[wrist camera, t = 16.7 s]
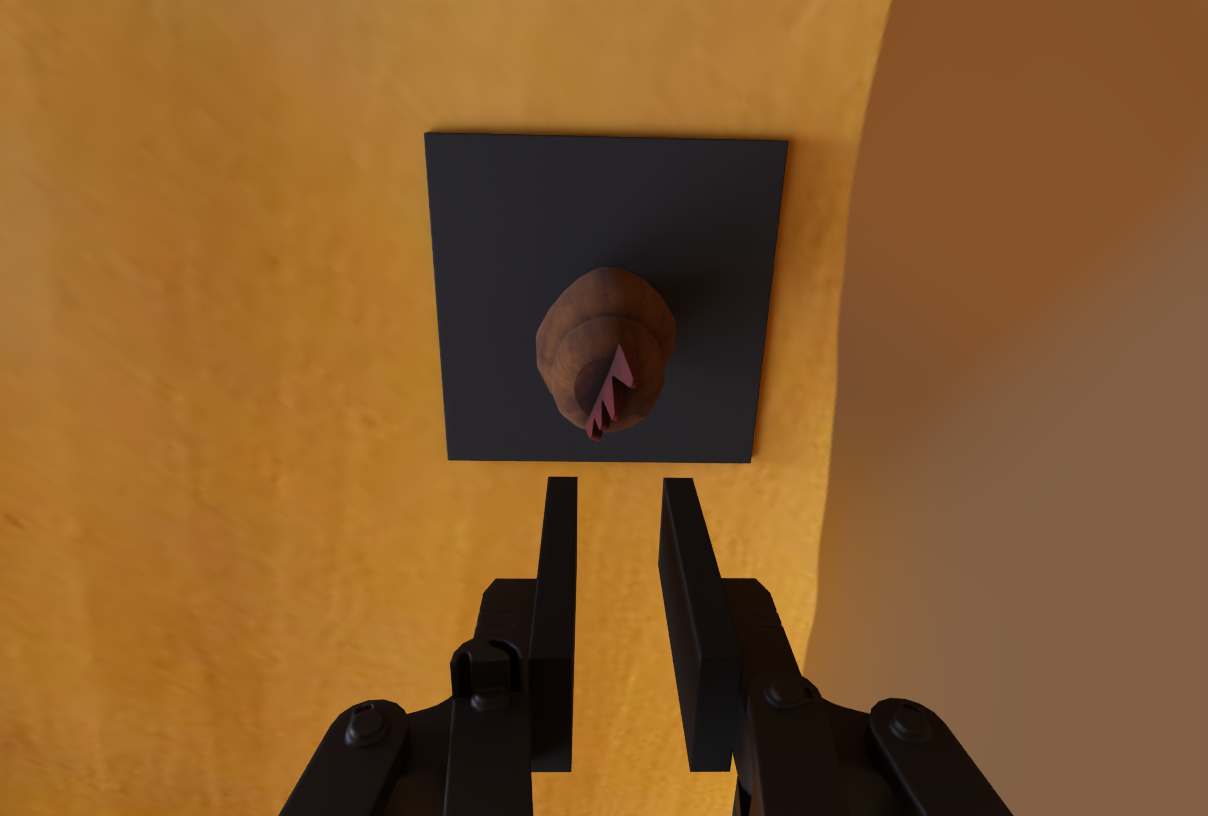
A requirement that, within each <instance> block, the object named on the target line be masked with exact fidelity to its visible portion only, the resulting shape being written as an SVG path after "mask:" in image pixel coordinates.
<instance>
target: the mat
mask: <svg viewBox="0 0 1208 816" xmlns="http://www.w3.org/2000/svg"><path fill="white" fill-rule="evenodd" d="M424 141H425V155H426V168H427V182H428V196H429V209H430V223H431V236H432V250H433V264H434V277H435V291H436V304H437V318H438V332H439V345H440V359H441V372H442V386H443V400H444V413H445V427H446V440H447V454H448V460H469V461H568V462H667V463H751V456H752V447H753V439H754V430H755V422H756V413H757V405H758V396H759V388H760V379H761V370H762V362H763V353H764V345H765V336H766V328H767V319H768V311H769V302H770V293H771V285H772V276H773V268H774V259H775V251H776V242H777V234H778V225H779V216H780V208H781V199H782V191H783V182H784V174H785V165H786V157H787V148H788V141H780V140H737V139H693V138H650V137H606V136H562V135H519V134H475V133H432V132H426V133H424ZM599 267H621V268H623V269H625V270H627V271H629V272H631V273H633V274H635V275H637V276H639V277H641V278H643V279H645V280H646V281H647V282H648V283H649V284H650V285H651V286H652V287H653V288H654V289H655V290H656V291H657V292H658V293H659V294H660V295H661V297H662V298H663V299H664V301H665V303H666V305H667V306H668V308H669V310H670V312H671V313H672V315H673V317H674V319H675V324H676V334H675V349H674V352H673V354H672V355H671V357H670V358H669V360H668V362H667V363H666V365H665V380H664V386H663V388H662V390H661V393H660V395H659V398H658V400H657V402H656V403H655V405H654V406H653V408H652V409H651V410H650V412H649V413H648V414H647V416H646V417H645V418H644V419H642V420H641V421H639V422H638V423H636V424H634V425H633V426H631V427H629V428H626V429H623V430H620V431H617V432H608V433H602V437H601V439H600V441H599V442H598V441H595V440H593V439H590V438H589V436H588V434H587V431H586V429H582V428H579V427H577V426H576V425H575V424H573V423H572V422H571V421H569V420H568V419H567V418H566V417H564V416H563V415H562V414H561V413H560V411H559V409H558V407H557V404H556V402H555V399H554V397H553V394H552V393H550V391H549V389H548V387H547V385H546V383H545V381H544V379H543V377H542V375H541V373H540V371H539V369H538V367H537V352H536V335H537V331H538V329H539V327H540V325H541V323H542V322H543V320H544V318H545V316H546V314H547V312H548V311H549V309H550V308H551V306H552V305H553V304H554V303H555V302H556V300H557V299H558V298H559V297H560V296H561V294H562V293H563V292H564V291H565V290H566V289H567V288H568V287H569V286H571V285H572V284H573V283H574V282H575V281H576V280H577V279H578V278H580V277H581V276H583V275H585V274H587V273H589V272H591V271H593V270H595V269H597V268H599Z"/></svg>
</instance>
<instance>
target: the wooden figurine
mask: <svg viewBox="0 0 1208 816" xmlns="http://www.w3.org/2000/svg"><path fill="white" fill-rule="evenodd" d="M675 334H676V324H675V319H674V317H673V315H672V313H671V312H670V310H669V308H668V306H667V305H666V303H665V301H664V299H663V298H662V297H661V295H660V294H659V293H658V292H657V291H656V290H655V289H654V288H653V287H652V286H651V285H650V284H649V283H648V282H647V281H646V280H645V279H643V278H641V277H639V276H637V275H635V274H633V273H631V272H629V271H627V270H625V269H623V268H621V267H599V268H597V269H595V270H593V271H591V272H589V273H587V274H585V275H583V276H581V277H580V278H578V279H577V280H576V281H575V282H574V283H573V284H572V285H571V286H569V287H568V288H567V289H566V290H565V291H564V292H563V293H562V294H561V296H560V297H559V298H558V299H557V300H556V302H555V303H554V304H553V305H552V306H551V308H550V309H549V311H548V312H547V314H546V316H545V318H544V320H543V322H542V323H541V325H540V327H539V329H538V331H537V335H536V352H537V367H538V369H539V371H540V373H541V375H542V377H543V379H544V381H545V383H546V385H547V387H548V389H549V391H550V393H552V394H553V397H554V399H555V402H556V404H557V407H558V409H559V411H560V413H561V414H562V415H563V416H564V417H566V418H567V419H568V420H569V421H571V422H572V423H573V424H575V425H576V426H577V427H579V428H582V429H586V431H587V434H588V436H589V438H590V439H593V440H595V441H598V442H599V441H600V439H601V437H602V433H608V432H617V431H620V430H623V429H626V428H629V427H631V426H633V425H634V424H636V423H638V422H639V421H641V420H642V419H644V418H645V417H646V416H647V414H648V413H649V412H650V410H651V409H652V408H653V406H654V405H655V403H656V402H657V400H658V398H659V395H660V393H661V390H662V388H663V386H664V380H665V365H666V363H667V362H668V360H669V358H670V357H671V355H672V354H673V352H674V349H675Z"/></svg>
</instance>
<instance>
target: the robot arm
mask: <svg viewBox="0 0 1208 816" xmlns="http://www.w3.org/2000/svg"><path fill="white" fill-rule="evenodd" d="M658 567H659V573H660V580H661V586H662V593H663V599H664V606H665V612H666V619H667V625H668V631H669V638H670V644H671V651H672V657H673V664H674V670H675V677H676V683H677V690H678V696H679V703H680V709H681V715H682V722H683V728H684V735H685V741H686V748H687V754H688V761H689V767H690V772H730V768H731V760H732V752H733V756H734V761H735V765H736V770H737V774H738V776H737V784H736V791H735V799H734V806H733V813H732V816H1013V814H1012V813H1011V812H1010V810H1009V809H1008V808H1007V806H1006V805H1005V804H1004V802H1003V801H1002V800H1001V798H1000V797H999V796H998V794H997V793H996V791H995V790H994V789H993V787H992V786H991V785H990V783H989V782H988V781H987V779H986V778H985V777H984V775H983V774H982V773H981V771H980V770H979V769H978V767H977V766H976V764H975V763H974V762H973V760H972V759H971V758H970V756H969V755H968V754H967V752H966V751H965V750H964V748H963V747H962V745H961V744H960V743H959V742H958V740H957V739H956V738H955V736H954V735H953V733H952V732H951V731H950V729H949V728H948V727H947V725H946V724H945V723H944V722H943V721H942V720H941V719H940V718H939V717H938V716H937V715H936V714H935V713H934V712H933V711H931V710H929V709H928V708H926V707H924V706H923V705H921V704H919V703H916V702H913V701H910V700H906V699H899V698H889V699H885V700H882V701H879V702H878V703H877V704H876V705H875V706H874V707H873V708H872V709H871V713H870V714H868V713H864V712H861V711H856V710H853V709H849V708H845V707H842V706H839V705H836V704H833V703H831V702H829V701H827V700H825V699H823V698H822V697H821V695H820V693H819V691H818V689H817V688H816V687H815V686H814V685H813V684H812V683H811V682H810V681H809V680H808V679H806V678H804V677H802V675H801V673H800V670H799V668H798V665H797V662H796V660H795V657H794V655H793V652H792V649H791V647H790V644H789V641H788V639H787V636H786V634H785V631H784V628H783V626H782V625H781V620H780V618H779V615H778V613H777V612H776V607H775V605H774V602H773V599H772V597H771V594H770V592H769V591H768V590H767V589H766V588H765V587H764V586H763V585H762V584H761V583H760V582H759V581H758V580H757V579H756V578H721V576H720V572H719V569H718V565H717V562H716V558H715V555H714V551H713V548H712V544H711V541H710V537H709V534H708V530H707V527H706V523H705V520H704V516H703V513H702V510H701V506H700V503H699V499H698V496H697V492H696V489H695V485H694V482H693V478H664V479H663V495H662V511H661V527H660V543H659V559H658ZM576 575H577V477H548V484H547V493H546V502H545V511H544V520H543V529H542V538H541V547H540V556H539V565H538V574H537V579H495V580H494V581H493V583H492V584H491V585H490V586H489V587H488V588H487V590H486V591H485V592H484V593H483V597H482V602H481V606H480V613H479V615H478V620H477V627H476V629H475V633H474V638H473V639H471V640H469V641H467V642H465V643H463V644H462V645H461V646H460V647H459V648H458V649H457V650H456V651H455V652H454V654H453V657H452V659H451V662H450V669H451V682H452V694H453V695H452V696H451V697H450V698H449V699H447V700H445V701H444V702H442V703H440V704H438V705H436V706H433V707H430V708H428V709H424V710H420V711H417V712H413V713H409V714H406V712H405V710H404V709H403V708H401V707H400V706H399V705H398V704H397V703H394V702H391V701H387V700H384V699H383V700H368V701H365V702H362V703H359V704H356V705H353V706H352V707H350V708H349V709H347V710H346V711H344V712H343V713H341V714H340V715H339V716H338V717H337V719H336V720H335V721H334V722H333V723H332V725H331V726H330V727H329V729H328V731H327V733H326V734H325V736H324V738H323V740H322V741H321V743H320V745H319V746H318V748H317V750H316V752H315V753H314V755H313V757H312V759H311V760H310V762H309V764H308V765H307V767H306V769H305V771H304V772H303V774H302V776H301V778H300V779H299V781H298V783H297V784H296V786H295V788H294V790H293V791H292V793H291V795H290V797H289V798H288V800H287V802H286V803H285V805H284V807H283V809H282V810H281V812H280V814H279V816H533V801H532V779H531V772H571V764H572V726H573V688H574V650H575V613H576Z"/></svg>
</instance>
